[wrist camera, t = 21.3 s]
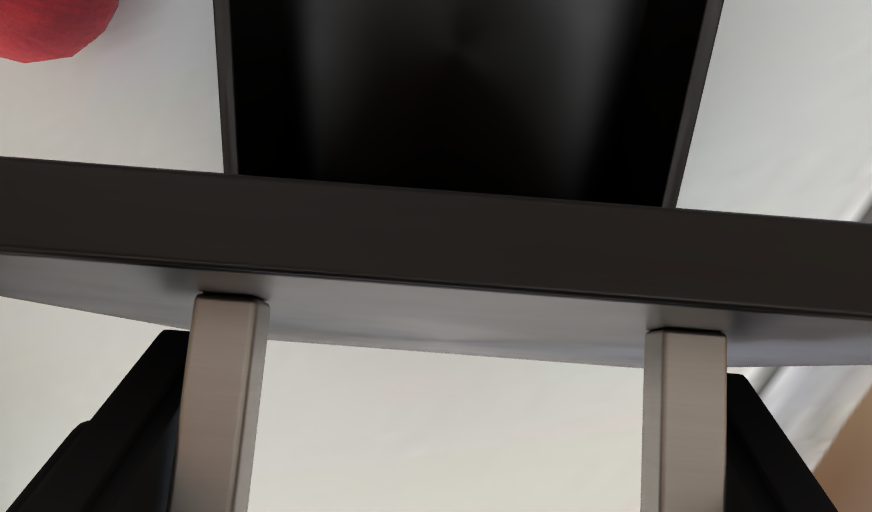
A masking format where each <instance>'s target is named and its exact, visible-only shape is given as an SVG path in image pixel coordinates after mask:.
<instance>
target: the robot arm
mask: <svg viewBox="0 0 872 512" xmlns="http://www.w3.org/2000/svg"><path fill="white" fill-rule="evenodd" d="M189 335H190V331H178V330H163V331H162V332H161V333H160V334H159V335H158V336H157V338H156V339H155V340H154V341H153V343H152V344H151V345H150V346H149V348H148V349H147V350H146V351H145V353H144V354H143V355H142V356H141V358H140V359H139V360H138V361H137V363H136V364H135V365H134V366H133V368H132V369H131V370H130V371H129V373H128V374H127V375H126V376H125V378H124V379H123V380H122V381H121V383H120V384H119V385H118V386H117V388H116V389H115V390H114V391H113V393H112V394H111V395H110V396H109V398H108V399H107V400H106V401H105V403H104V404H103V405H102V406H101V408H100V409H99V410H98V411H97V413H96V414H95V415H94V416H93V418H92V419H91V420H90V421H86V422H83V423H80V424H79V425H78V426H77V427H76V428H75V429H74V430H73V431H72V432H71V433H70V434H69V435H68V437H67V438H66V439H65V440H64V441H63V443H62V444H61V445H60V446H59V447H58V449H57V450H56V451H55V452H54V454H53V455H52V456H51V457H50V458H49V460H48V461H47V462H46V463H45V465H44V466H43V467H42V468H41V469H40V471H39V472H38V473H37V474H36V475H35V477H34V478H33V479H32V480H31V482H30V483H29V484H28V485H27V486H26V488H25V489H24V490H23V491H22V493H21V494H20V495H19V496H18V497H17V499H16V500H15V501H14V502H13V504H12V505H11V506H10V507H9V508H8V510H7V511H6V512H166V507H167V499H168V492H169V484H170V477H171V469H172V462H173V455H174V447H175V440H176V432H177V425H178V417H179V410H180V402H181V395H182V387H183V380H184V373H185V365H186V358H187V350H188V343H189ZM726 512H838V511H837V509H836V508H835V507H834V505H833V503H832V502H831V500H830V499H829V498H828V496H827V495H826V493H825V492H824V490H823V489H822V487H821V486H820V485H819V483H818V482H817V480H816V479H815V477H814V476H813V474H812V473H811V471H810V470H809V468H808V467H807V466H806V464H805V463H804V461H803V460H802V458H801V457H800V455H799V454H798V452H797V451H796V450H795V448H794V447H793V445H792V444H791V442H790V441H789V439H788V438H787V436H786V435H785V434H784V432H783V431H782V429H781V428H780V426H779V425H778V423H777V422H776V421H775V419H774V418H773V416H772V415H771V413H770V412H769V410H768V409H767V407H766V406H765V405H764V403H763V402H762V400H761V399H760V397H759V396H758V394H757V393H756V391H755V390H754V389H753V387H752V386H751V384H750V383H749V381H748V380H747V379H746V378H745V377H744V376H743V375H741V374H732V373H727V426H726Z"/></svg>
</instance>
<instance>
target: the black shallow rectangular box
mask: <svg viewBox="0 0 872 512" xmlns="http://www.w3.org/2000/svg"><path fill="white" fill-rule="evenodd" d="M723 3H724V0H213V9H214V25H215V41H216V56H217V72H218V88H219V104H220V119H221V135H222V151H223V166H224V173H226V174H239V175H252V176H265V177H278V178H291V179H304V180H317V181H330V182H343V183H356V184H369V185H382V186H395V187H408V188H421V189H434V190H447V191H460V192H474V193H487V194H500V195H513V196H526V197H539V198H552V199H565V200H578V201H591V202H604V203H617V204H630V205H643V206H656V207H669V208H676V204H677V200H678V196H679V192H680V187H681V183H682V179H683V174H684V170H685V166H686V162H687V157H688V153H689V149H690V144H691V140H692V136H693V132H694V127H695V123H696V119H697V114H698V110H699V106H700V102H701V97H702V93H703V89H704V85H705V80H706V76H707V72H708V67H709V63H710V59H711V55H712V50H713V46H714V42H715V37H716V33H717V29H718V25H719V20H720V16H721V12H722V7H723Z"/></svg>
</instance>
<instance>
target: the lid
mask: <svg viewBox="0 0 872 512" xmlns="http://www.w3.org/2000/svg"><path fill="white" fill-rule="evenodd" d="M0 296H3V297H8V298H14V299H20V300H25V301H31V302H36V303H42V304H48V305H53V306H59V307H64V308H70V309H76V310H81V311H87V312H92V313H98V314H104V315H109V316H115V317H120V318H126V319H132V320H137V321H143V322H148V323H154V324H160V325H165V326H171V327H177V328H182V329H188V330H190V335H189V343H188V350H187V358H186V365H185V373H184V380H183V387H182V395H181V402H180V410H179V417H178V425H177V432H176V440H175V447H174V455H173V462H172V469H171V477H170V484H169V492H168V499H167V507H166V512H247V509H248V501H249V492H250V483H251V475H252V466H253V457H254V449H255V440H256V431H257V422H258V414H259V405H260V396H261V388H262V379H263V370H264V362H265V353H266V344H267V340H277V341H290V342H303V343H317V344H330V345H343V346H356V347H369V348H382V349H395V350H409V351H422V352H435V353H448V354H461V355H474V356H488V357H501V358H514V359H527V360H540V361H553V362H566V363H580V364H593V365H606V366H619V367H632V368H644V386H643V427H642V469H641V510H640V512H726V426H727V367H767V366H830V365H872V223H865V222H852V221H839V220H826V219H813V218H800V217H787V216H774V215H761V214H748V213H735V212H722V211H708V210H695V209H682V208H669V207H656V206H643V205H630V204H617V203H604V202H591V201H578V200H565V199H552V198H539V197H526V196H513V195H500V194H487V193H474V192H460V191H447V190H434V189H421V188H408V187H395V186H382V185H369V184H356V183H343V182H330V181H317V180H304V179H291V178H278V177H265V176H252V175H239V174H226V173H212V172H199V171H186V170H173V169H160V168H147V167H134V166H121V165H108V164H95V163H82V162H69V161H56V160H43V159H30V158H17V157H4V156H0Z"/></svg>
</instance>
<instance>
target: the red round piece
mask: <svg viewBox="0 0 872 512" xmlns="http://www.w3.org/2000/svg"><path fill="white" fill-rule="evenodd" d="M118 1H119V0H0V57H2V58H6V59H10V60H14V61H18V62H22V63H30V62H38V61H45V60H52V59H58V58H65V57H72V56H73V55H75V54H76V53H77V52H79V51H80V50H81V49H83V48H84V47H85V46H87V45H88V44H89V43H91V42H92V41H93V40H94V39H96V38H97V37H98V36H99V35H101V34H102V33H103V32H104V31H105V29H106V27H107V26H108V24H109V22H110V20H111V18H112V16H113V14H114V13H115V11H116V9H117V7H118Z"/></svg>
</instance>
